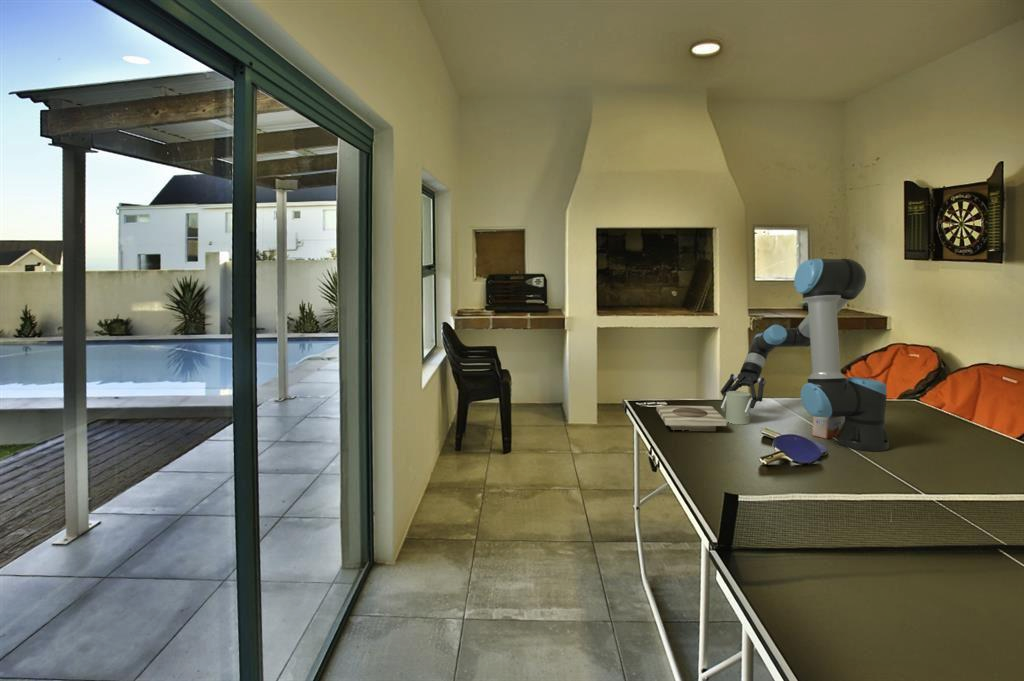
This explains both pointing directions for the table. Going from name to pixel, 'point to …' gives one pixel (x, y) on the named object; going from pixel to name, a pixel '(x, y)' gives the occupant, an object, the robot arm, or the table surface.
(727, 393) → the can
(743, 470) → the table surface
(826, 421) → the cracker box
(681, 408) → the stand
